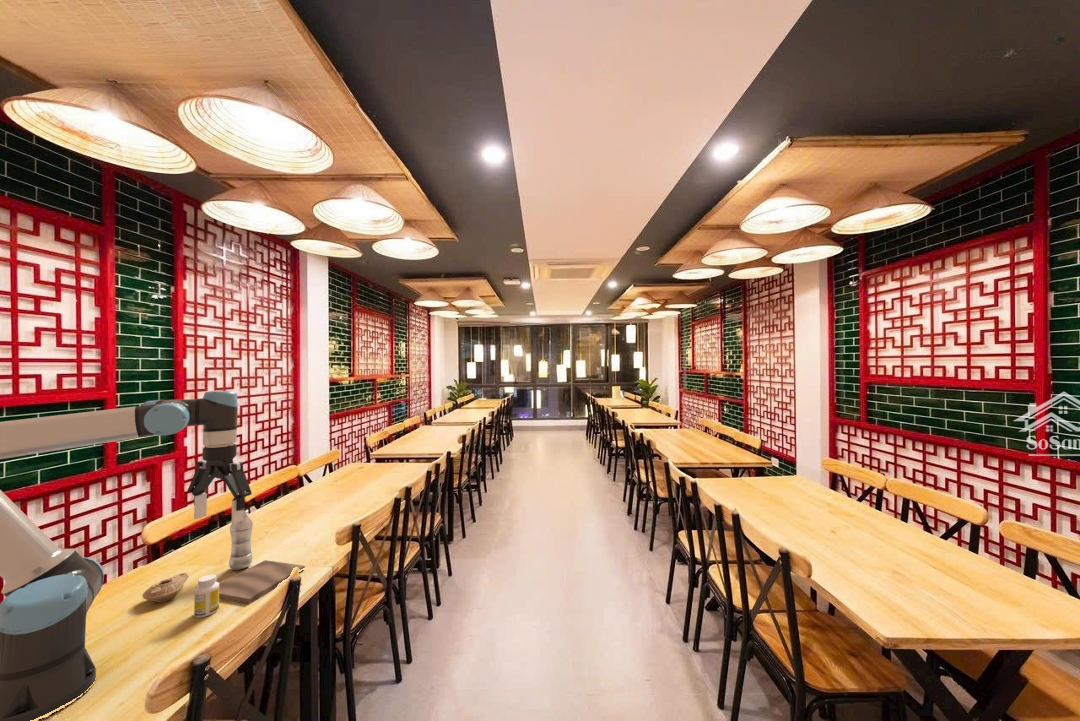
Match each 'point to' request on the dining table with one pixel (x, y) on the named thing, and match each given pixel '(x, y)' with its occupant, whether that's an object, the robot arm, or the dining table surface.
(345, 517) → the dining table surface
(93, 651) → the dining table surface
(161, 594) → the pottery oil lamp
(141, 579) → the dining table surface
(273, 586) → the serving board
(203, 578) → the supplement bottle
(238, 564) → the plastic bottle
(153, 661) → the dining table surface
